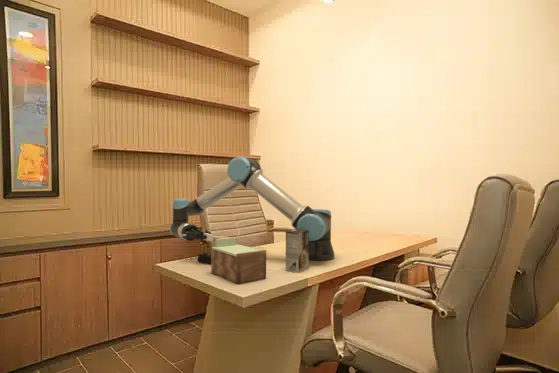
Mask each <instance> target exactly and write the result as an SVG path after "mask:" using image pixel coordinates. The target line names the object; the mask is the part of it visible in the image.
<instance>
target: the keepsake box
mask: <svg viewBox="0 0 559 373" xmlns="http://www.w3.org/2000/svg"><path fill="white" fill-rule="evenodd" d="M210 250H211V251H210V252H211V265H210V267H211V268H210V272H211V274H213V275H216V276H218V277H220V278H223V279H225V280H226V281H227V280H228V281H230V282H232V283H234V284H236V285H242V284H247V283H251V282H257V281H262V280H263V281H264V280H266V279H267V250H266V249H262V250H261V249H259V250H260V251H253V252H245V253H238V254H237V257H235V256H232V255H229V254H226V253H223V252H220V251H216V250H213V249H210Z"/></svg>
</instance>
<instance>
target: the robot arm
mask: <svg viewBox="0 0 559 373" xmlns="http://www.w3.org/2000/svg"><path fill="white" fill-rule="evenodd" d="M226 170H227V175H228V177H227V178H226V179H224V180H223V181H221V182H219V183H218V184H216V185H215V186H213V187H211V188H210V189H209V190H208V191H206V192H204V193H203V194H201V195H199V196H198V197H197V198H194V199H193V200H192V201H189V199H188V198H174V199H173V200H172V223H171V224H170V225H169V232H170V234H171V235H172V236H174V237H176V238H180V239H184V240H185V241H190V242H191V241H192V242H193V241H195V240H200V242H203V241H207V242H215V238H214V234H212V232H211V231H209V230H208V229H206V230H202V229H200V228H199V227H197V225H194V224H192V223H189V217H193V216H199V215H202V214H203V213H204V211H205V210H206V209H207V210H208V208H210V207H211V206H213V205H215V204H216V203H218V202H220V201H221V200H222V199H224V198H226V197H228V196H229V195H231V194H232V193H234V192H236V191H238V189H240V188H242V187H244V188H245V189H246V190H253V192H255V193H256V194H257V195H258V196H260V197H261V198H262V199H264V200H265V201H266V202H267V203H268V204H269V205H271V206H272V207H273V208H275V209H276V210H277V211H279V213H281V214H282V215H283V216H284V217H286V218H287V219H289V221H290V223H291V227H293V228H294V229H303V230H309V231H308V238H309V240H308V241H309V242H308V245H309V248H308V260H310V261H330V260H334V259H335V251H334V247H333V245H332V240H331V239H332V212H331V210H330V209H323V208H321V209H320V208H319V209H318V208H311V207H310V206H309V205H302V204H301V203H300V202H299V201H297V200H296V199H294V197H292V196H291V195H289V194H288V193H287V192H286V191H285V190H283V189H282V188H281V187H280V186H279V185H277V184H276V183H275V182H273V181H272V180H271V179H270V178H268V177H267V176H266V175H264V170H263V169H262V167H261V165H260V163H259V162H258V161H257V160H256V159H253V158H249V157H244V156H237V157H234V158H232V159H231V160H230V161H229V163H228V165H227V168H226Z"/></svg>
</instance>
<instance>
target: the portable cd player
mask: <svg viewBox="0 0 559 373" xmlns="http://www.w3.org/2000/svg"><path fill="white" fill-rule="evenodd" d="M198 262H199V264H205V265H210V266H211V251H209V252H205V253H200V254H198V256H197V263H198Z"/></svg>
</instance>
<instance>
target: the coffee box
mask: <svg viewBox="0 0 559 373" xmlns="http://www.w3.org/2000/svg"><path fill="white" fill-rule="evenodd" d="M308 231H309V230H303V229H295V228H294V229H289V230H287V231H285V271H286V272H293V273H301V272H303V271H305V270H307V269H309V259H308V248H309V245H308V242H309V241H308V240H309V238H308Z"/></svg>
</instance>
